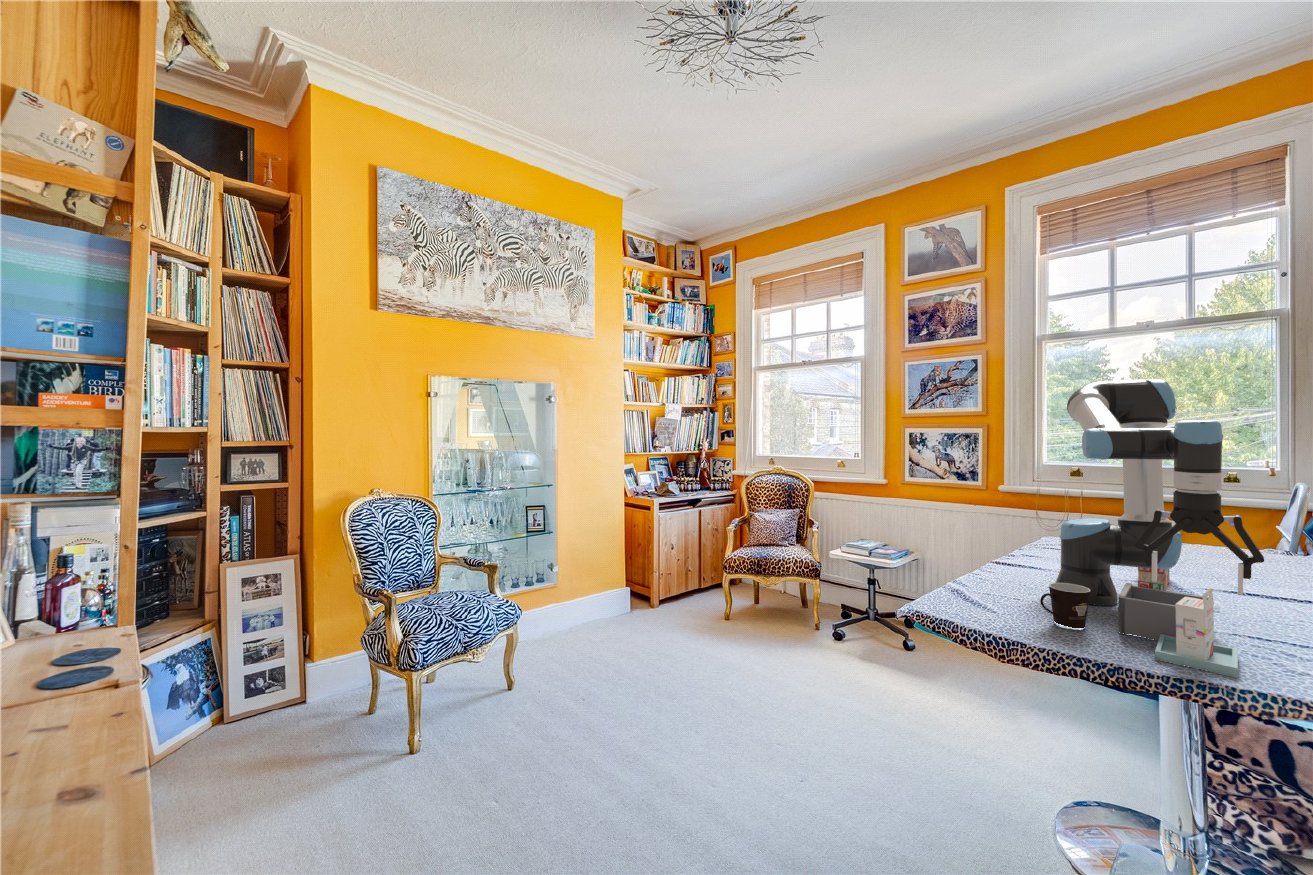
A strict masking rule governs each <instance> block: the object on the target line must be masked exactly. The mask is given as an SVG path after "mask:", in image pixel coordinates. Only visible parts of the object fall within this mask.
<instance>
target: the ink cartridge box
mask: <svg viewBox="0 0 1313 875" xmlns="http://www.w3.org/2000/svg"><path fill="white" fill-rule="evenodd" d="M1201 596H1202V597H1203V599H1197V598H1191V597H1184V598H1183V599H1181V600H1180V601H1179V602H1177V603H1176V604H1175V607H1176V654H1177V655H1182V656H1187V657H1192V658H1197V659H1201V660H1206V661H1207V660H1208V659H1209V658H1210V656H1211V655H1212V654H1213V645H1214V644H1215V642H1214V640H1215V639H1214V635H1215V634H1214V627H1215V626H1214V622H1215V620H1214V616H1215V614H1214V611H1215V610H1214V608H1215V607H1214V603H1215V602H1214V601H1215V600H1214V594H1213V588H1212V587H1210V588H1209V589H1208V590H1206V591H1205V592H1203V594H1202V595H1201ZM1207 597H1209V599H1208V600H1207Z"/></svg>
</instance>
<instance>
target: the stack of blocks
mask: <svg viewBox="0 0 1313 875" xmlns="http://www.w3.org/2000/svg"><path fill="white" fill-rule="evenodd" d="M1137 572H1138V577H1137V579H1138V580H1137V587H1144V588H1150V589H1157V590H1164V591H1167V589H1168V584H1169V582H1170V569H1157V581H1156V582H1152V569H1150V568H1140V567H1137Z"/></svg>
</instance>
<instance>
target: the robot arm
mask: <svg viewBox="0 0 1313 875" xmlns="http://www.w3.org/2000/svg"><path fill="white" fill-rule="evenodd" d="M1176 404H1177V403H1176V398H1175V394H1174V391H1173V389H1172V387H1171V385H1170V384H1169V383H1168V382H1167V381H1166V380H1164V379H1152V378H1151V379H1150V378H1144V379H1127V380H1126V379H1125V380H1109V381H1108V380H1105V381H1096V382H1091V383H1089V384H1087V385H1084V386H1082V387H1080V388H1078V389H1077V390H1076V391H1074V392H1073V393H1072V394H1071V395H1070V397H1069V398H1068V400H1067V402H1066V410H1067V413H1068V415H1069V417H1070V418H1071V419H1072V420H1073V421H1074V422H1077V423H1079V426H1080V427H1081V428H1082V430H1083V433H1082V435H1081V436H1082V438H1081V448H1082V454H1083V456H1084V457H1085V458H1087V459H1092V460H1093V459H1096V460H1098V459H1099V460H1100V461H1101V460H1102V461H1104V460H1122V482H1123V485H1122V486H1123V509H1124V512H1123V514H1122V515H1121V516H1119V517H1118V518H1117V524H1111V521H1110V520H1108V519H1105V518H1095V517H1094V518H1087V517H1086V518H1078V519H1077V518H1076V519H1069V520H1066V521H1064V522H1063V523H1062V524H1061V526H1060V535H1059V539H1060V570H1059V572H1058V575H1057V577H1056V580H1055V582H1054V583H1069V584H1075V585H1080V586H1084V587H1087V588H1089V589H1090V590H1091V591H1090V598H1089V604H1095V605H1094V606H1102V605H1106V606H1113V604H1114V605H1116V604H1118V595H1119V593H1118V592H1117V589H1116V587H1115V585H1114V582H1113V579H1112V577H1111V566H1120V567H1130V568H1138V567H1140V568H1150V569H1152V582H1156V581H1157V569H1169V570H1170V569H1172V568H1174V567H1175V566H1176V565H1177V564H1178V562H1179V560H1180V557H1181V552H1182V546H1183V538H1182V534H1181V531H1183V532H1185V533H1187V534H1198V535H1205V536H1206V535H1208V534H1212V535H1213V537H1216V538H1217V539H1218V540H1219V541H1220V542H1221V543H1222V544H1223V545H1224V546H1225V547H1226V548H1227V549H1228V550H1230V551H1231V552H1232V553H1233V554H1234V555H1235V557H1237V558H1238V559H1239V560H1238V561H1237V595H1239V596H1240V595H1241V596H1243V595H1244V580H1245V579H1246V580H1251V578H1252V565H1253V564H1259V563H1264V562H1265V557H1264V555H1263V553H1262V552H1261V551H1260V548H1258V546H1257V545H1256V543H1255V542H1254V540H1253V539H1252V537H1251V536H1250V534H1249V532H1248V531H1247V530H1246V528H1245V526H1244V525H1243V519H1242V516H1241V515H1239V514H1235V515H1229V516H1228V515H1223V514H1222V494H1221V493H1219V492H1220V491H1221V490H1222V477H1223V476H1222V475H1223V474H1222V464H1223V463H1222V457H1223V441H1224V440H1223V439H1224V434H1223V429H1222V423H1221V422H1219V421H1218V420H1204V419H1203V420H1202V419H1201V420H1200V419H1199V420H1198V419H1197V420H1179V421H1176V422H1175V423H1174V426H1171V427H1167V426H1168V421H1169V420H1172V419H1174V418H1175V416H1176V412H1177V410H1176V408H1177V405H1176ZM1163 460H1167V461H1169V460H1171V461H1173V488H1174V489H1175V490H1174V491H1173V497H1172V498H1173V502H1172V504H1173V505H1172V506H1173V507H1172V511H1167V510H1165V505H1164V504H1165V503H1164V482H1163V480H1164V479H1163ZM1169 518H1170V519H1171V520H1170V519H1169ZM1172 521H1173V522H1174V523H1175V524H1173V522H1172ZM1224 522H1226V523H1227V524H1228V525H1229V526H1230V527H1234V529H1235V531H1236V533H1237V534H1238V536H1239V537H1240V539H1241V540H1242V542H1243V543H1244V545H1245V546H1246V548H1247V549H1248V551H1249V552H1250V553H1251V555H1250V556H1249V555H1248V554H1247V553H1246V552H1245V551H1244V550H1242V549H1241V547H1239V545H1237V544H1236V543H1235V542H1234V541H1233V540H1232V539H1231V538H1230V537H1229V536H1228V535H1227V534H1226V533H1225V532H1224V531H1223V530H1222V529H1221V528H1220V526H1221V525H1222V524H1223V523H1224Z"/></svg>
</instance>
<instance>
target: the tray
mask: <svg viewBox="0 0 1313 875" xmlns="http://www.w3.org/2000/svg"><path fill="white" fill-rule="evenodd" d="M1238 652H1239V650H1238V648H1235V647H1230V646H1225V645H1220V644H1215V643H1214V645H1213V654H1212V655H1211V656H1210V658H1209V659H1208V660H1207V661H1206V660H1201V659H1197V658H1192V657H1187V656H1182V655H1177V654H1176V637H1174V636H1168V635H1163V634H1161V635H1160V638H1159V640H1158V641H1157V644H1156V647H1155V650H1154V660H1155V659H1156V660H1155V661H1157V660H1160V661H1159V662H1162V661H1164V663H1166V662H1169V663H1168V664H1171V663H1173V664H1172V665H1176V664H1178V665H1177V666H1180V665H1185V666H1189V667H1193V668H1192V669H1194V668H1198V669H1197V670H1199V669H1203V670H1207V671H1206V672H1208V671H1211V672H1210V673H1212V672H1215V673H1214V674H1217V673H1218V675H1222V676H1228V677H1230V678H1231V677H1232V678H1235V679H1237V678H1239V675H1238V673H1239V671H1238V670H1239V661H1238V659H1239V658H1238V656H1239V655H1238V654H1239V653H1238ZM1185 666H1184V667H1185ZM1189 667H1188V668H1189ZM1203 670H1202V671H1203Z"/></svg>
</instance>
